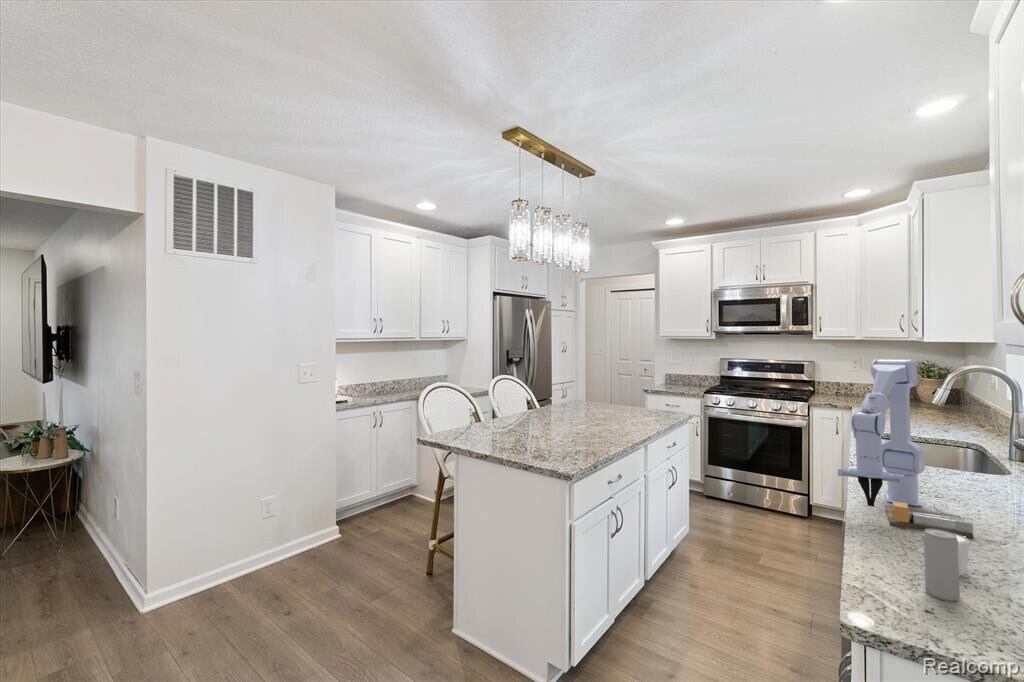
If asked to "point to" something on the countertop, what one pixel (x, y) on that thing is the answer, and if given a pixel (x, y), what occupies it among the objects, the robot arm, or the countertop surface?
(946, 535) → the beverage can
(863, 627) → the countertop surface
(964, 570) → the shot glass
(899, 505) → the collar
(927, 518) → the tong board
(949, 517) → the tong arm
